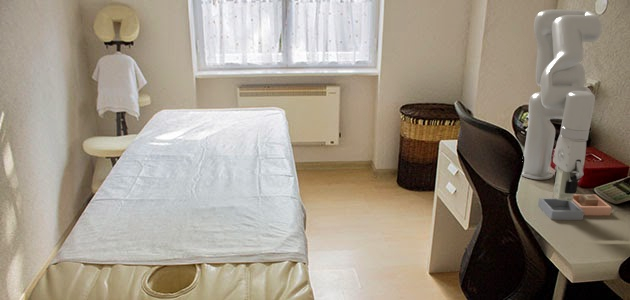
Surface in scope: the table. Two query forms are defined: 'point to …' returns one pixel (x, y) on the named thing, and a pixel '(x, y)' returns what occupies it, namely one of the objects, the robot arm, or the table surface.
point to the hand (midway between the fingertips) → (564, 187)
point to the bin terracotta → (594, 207)
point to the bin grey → (560, 209)
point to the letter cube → (587, 200)
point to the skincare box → (562, 185)
